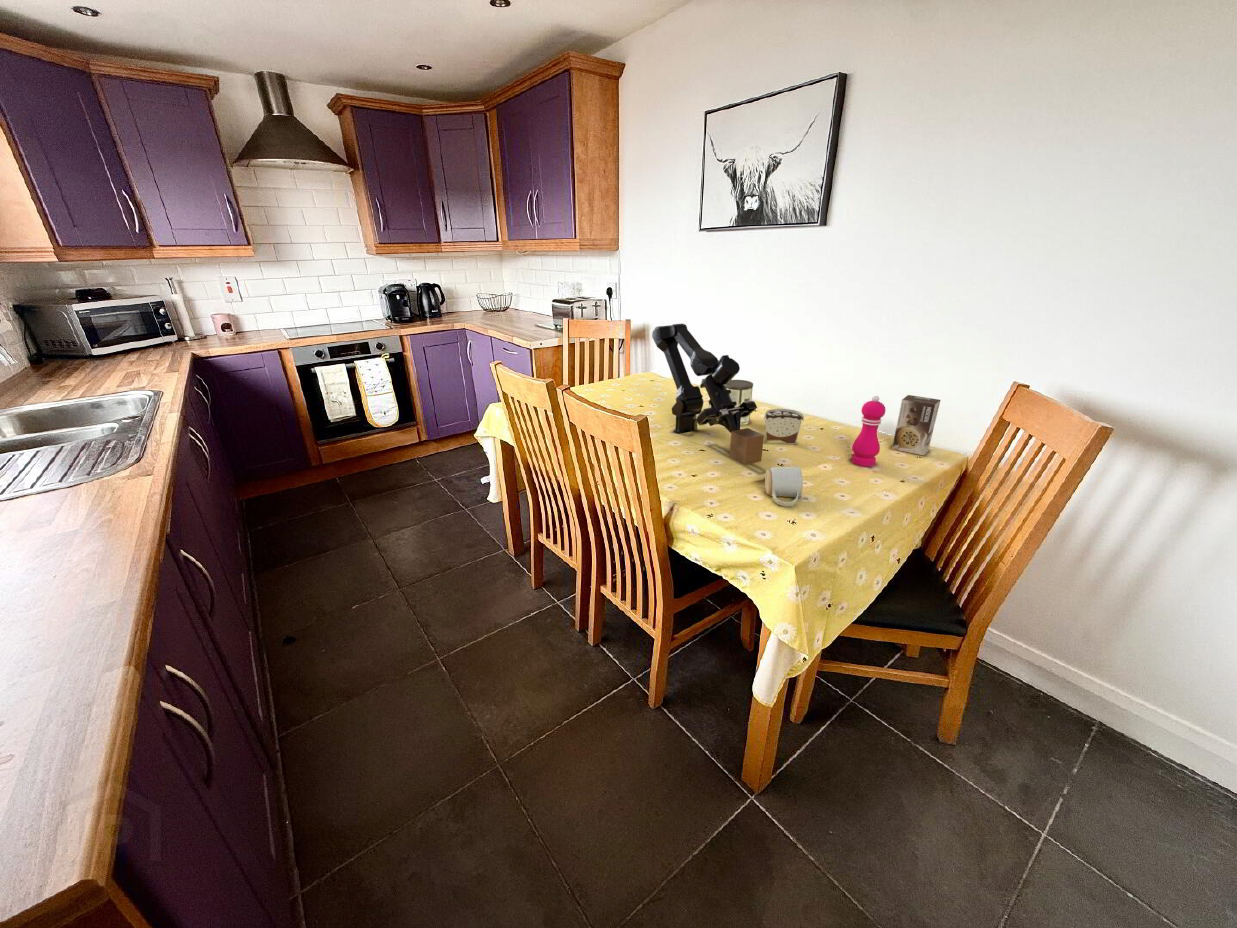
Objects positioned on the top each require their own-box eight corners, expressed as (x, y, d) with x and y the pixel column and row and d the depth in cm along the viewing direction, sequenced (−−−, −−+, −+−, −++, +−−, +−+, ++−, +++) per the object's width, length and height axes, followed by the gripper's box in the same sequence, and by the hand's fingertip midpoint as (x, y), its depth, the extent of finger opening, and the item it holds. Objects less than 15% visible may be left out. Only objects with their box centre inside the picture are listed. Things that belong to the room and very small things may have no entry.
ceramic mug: (762, 487, 131) (765, 461, 128) (794, 488, 130) (798, 461, 127) (769, 507, 121) (773, 479, 118) (804, 508, 121) (809, 480, 117)
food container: (796, 437, 165) (800, 408, 161) (800, 444, 159) (804, 414, 155) (758, 436, 166) (761, 407, 162) (761, 443, 161) (764, 413, 157)
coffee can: (726, 415, 188) (729, 378, 182) (753, 419, 183) (757, 381, 177) (716, 422, 180) (718, 384, 174) (743, 427, 175) (747, 388, 169)
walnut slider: (729, 456, 147) (731, 431, 144) (745, 453, 150) (747, 427, 147) (744, 464, 142) (747, 438, 138) (761, 461, 144) (764, 435, 141)
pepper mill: (875, 459, 148) (888, 393, 140) (878, 468, 141) (892, 400, 133) (848, 456, 150) (860, 391, 142) (850, 465, 144) (863, 398, 136)
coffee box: (929, 450, 154) (942, 399, 147) (923, 456, 149) (936, 404, 143) (896, 443, 159) (908, 394, 153) (890, 448, 155) (901, 398, 149)
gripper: (729, 401, 162) (748, 444, 158) (680, 410, 155) (699, 454, 150) (747, 383, 153) (768, 428, 148) (696, 391, 145) (717, 438, 140)
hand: (738, 437), depth 147 cm, fingers closed
